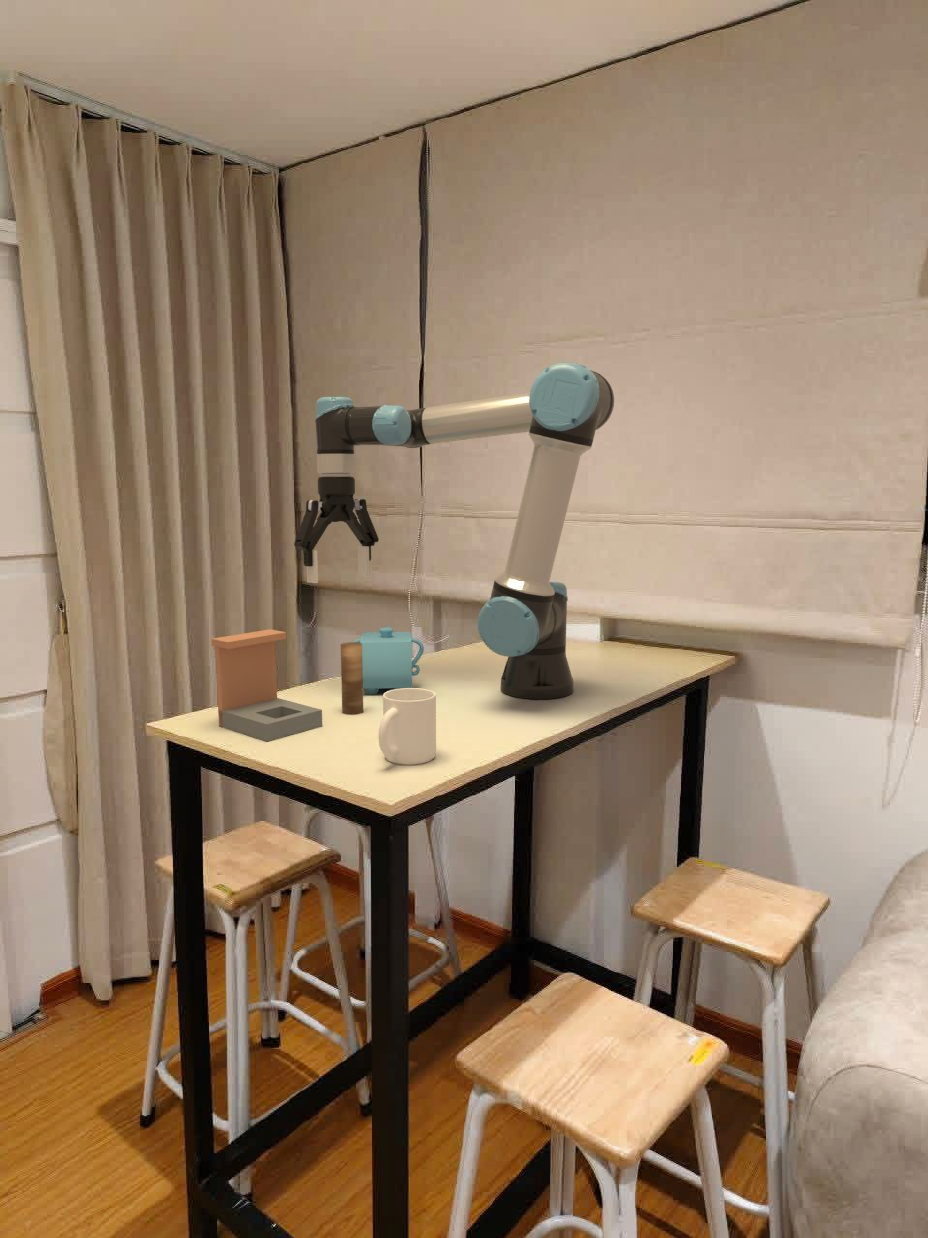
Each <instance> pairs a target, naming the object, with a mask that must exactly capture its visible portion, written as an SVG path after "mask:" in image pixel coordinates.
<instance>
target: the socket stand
mask: <svg viewBox="0 0 928 1238" xmlns="http://www.w3.org/2000/svg"><path fill="white" fill-rule="evenodd" d="M287 638H288V637H287V632H286V631H281V630H276V629H271V628H270V629H264V630H259V631H251V632H245V633H239V634H233V635H227V636H220V637H214V638H211V646H213V647H214V649H215V671H216V673H215V674H216V689H217V690H216V691H217V712H218V713H217V714H218V715H217V716H218V727H220V728H224V729H226V730H230V731H233V732H235V733H239V734H243V735H245V736H248V737H251V738H255V739H258V740H260V741H264V742H271V741H275V740H278V739H281V738H282V739H283V738H285V737H288V736H293V735H295V734H298V733H303V732H306V731H309V730H314V729H316V728H320V727H321V728H322V727H323V709H321V708H316V707H313V706H310V705H305V704H302V703H298V702H293V701H290V700H287V699H283V698H281V697H280V698H279V697H278V685H277V684H278V683H277V682H278V681H277V658H276V657H277V656H276V655H277V653H276V641H281V640H282V641H283V640H287Z"/></svg>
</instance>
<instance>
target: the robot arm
mask: <svg viewBox="0 0 928 1238" xmlns="http://www.w3.org/2000/svg"><path fill="white" fill-rule="evenodd" d="M614 407H615V395H614V390H613V388H612V386H611V384H610V382H609V381H608V379H606V377H605V376H603V375H602V374H600V373H599V372H596V371H594V370H592V369H590V368H589V367H587V366H585V365H582V364H579V363H577V362H576V363H575V362H560V363H559V362H558V363H555V364H552V365H550V366H548V367H546V368H545V369H544V370H542V371H541V372H540V373H539V374H538V375H537V377H535V379H534V381H533V383H532V385H531V387H530V391H529V392H522V393H517V394H510V395H509V394H508V395H503V396H496V397H488V398H483V399H477V400H468V401H463V402H456V403H450V404H442V405H435V406H428V407H421V408H414V409H408V410H407V409H406V407H404V406H401V405H393V404H392V405H391V404H383V405H373V406H360V407H359V406H355V405H354V401H353V399H352V398H351V397H347V396H324V397H319V398H318V399H317V400H316V402H315V418H314V422H315V431H316V447H317V448H316V467H317V469H316V471H317V474H319V475H320V476H318V478H317V493H318V495H319V501H318V500H316V499H315V500H313V499H312V500H311V499H308V500H306V502H305V504H306V505H305V513H304V515H303V518H302V521H301V522H300V523H301V524H300V527H299V530H298V532H297V535H296V537H295V539H294V543H293V544H294V545H293V546H294V547H295V548H299V549H300V550H302V551H303V553H302V554H303V566H304V567H306V582H307V583H312V584H318V583H319V562H318V560H319V559H318V550H317V549H316V550H315V548H316V546H317V545H318V543H319V541H320V539H321V537H322V536H323V534H324V532H325V531H326V529H327V528H328V526H329V525H331V524H332V523H338V522H343V523H345V524H346V525H347V526H348V528H349V529H350V531H351V533H353V535H354V536H355V537H356V539H357V541H358V542H359V543H360V545H357V560H358V561H357V562H358V563H357V566H358V568H357V569H358V570H357V571H358V577H360V578H370V576H371V575H370V562H371V560H372V547H374V546H375V544H376V543H378V542H379V536H378V534H377V531H376V529H375V526H374V524H373V521H372V519H371V517H370V514H369V511H368V509H367V508H368V507H367V500H366V498H365V499H364V498H354V495H355V493H356V478H355V477H354V476H353V475H355V473H356V471H355V470H356V469H355V467H356V466H355V446H387V447H388V446H389V447H403V448H407V449H417V448H422V447H424V446H428V445H434V444H435V445H436V444H441V443H450V442H459V441H466V440H474V439H482V438H489V437H490V438H491V437H498V436H507V435H513V434H520V433H521V434H522V433H528V435H529V437H530V439H531V440H532V442H533V451H532V454H531V459H530V462H529V467H528V472H527V475H526V480H525V485H524V487H523V493H522V498H521V502H520V506H519V509H518V513H517V514H518V515H517V519H516V523H515V527H514V530H513V534H512V539H511V544H510V549H509V553H508V557H507V561H506V565H505V569H504V571H503V572H502V573H500V574H498V575H497V576H495V578H494V581H493V586H492V590H491V593H490V597H489V598H490V599H489V600H487V601H486V602H485V603H484V604H483V606H482V608H481V609H480V611H479V613H478V616H477V630H478V634H479V637H480V639H481V640H482V642H483V643H484V645H485V646H486V648H488V649H489V650H490V651H492V652H493V653H495V654H497V655H500V656H501V657H507V659H506V662H505V666H504V669H503V673H502V676H501V677H500V691H501V693H503V694H505V695H508V696H511V697H514V698H521V699H528V700H529V699H534V700H535V699H536V700H547V699H548V700H550V699H551V700H552V699H558V698H564V697H567V696H570V695H571V694H572V693H574V678H573V677H572V673H571V668H570V666H569V662H568V658H567V654H566V653H567V650H566V649H567V648H566V647H567V643H566V642H567V617H568V616H567V611H568V609H567V608H568V607H567V606H568V601H569V599H568V598H569V597H568V591H567V589H568V588H567V586H566V585H565V584H564V583H563V582H559V581H550V580H551V576H552V572H553V568H554V565H555V560H556V556H557V554H558V553H557V552H558V549H559V545H560V540H561V536H562V533H563V528H564V524H565V520H566V516H567V512H568V508H569V503H570V500H571V495H572V492H573V488H574V483H575V480H576V476H577V472H578V468H579V464H580V460H581V457H582V455H583V454H584V453H586V452H587V451H589V450H591V449H592V447H593V442H594V439H595V435H596V431H597V430H599V429H601V428H602V427H603V426H604V425H605V424H606V423H607V422H608V421H609V419H610V417H611V415H612V413H613V411H614ZM319 511H320V512H319ZM318 514H319V515H318Z"/></svg>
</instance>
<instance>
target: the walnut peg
mask: <svg viewBox="0 0 928 1238" xmlns="http://www.w3.org/2000/svg"><path fill="white" fill-rule="evenodd" d="M340 673H341V674H340V675H341V678H340V679H341V680H340V681H341V713H342V714H345V715H350V716H351V715H352V716H353V715H360V714H363V713H364V689H363V664H362V643H357V642H353V641H349V642H348V641H347V642H343V643H340Z"/></svg>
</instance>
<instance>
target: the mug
mask: <svg viewBox="0 0 928 1238" xmlns="http://www.w3.org/2000/svg"><path fill="white" fill-rule="evenodd" d="M382 712H383V713H382V714H383V716H382V718H381V720H380V722H379V723H380V724H379V728H378V745H379V748H380V751H381V752H382V754H383V755H384V758H385V759H386V760H387V761H388V762H390V763H393V764H396V765H401V766H402V765H403V766H413V765H421V764H426V763H428V762H431V761H432V760H433V759H435V757H436V753H437V752H436V751H437V694H436V692H435V691H433V690H430V689H426V688H420V687H419V688H417V687H415V688H414V687H412V688H401V689H395V688H393V689H390V690H387V691H386V692H384V693H383V695H382Z"/></svg>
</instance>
